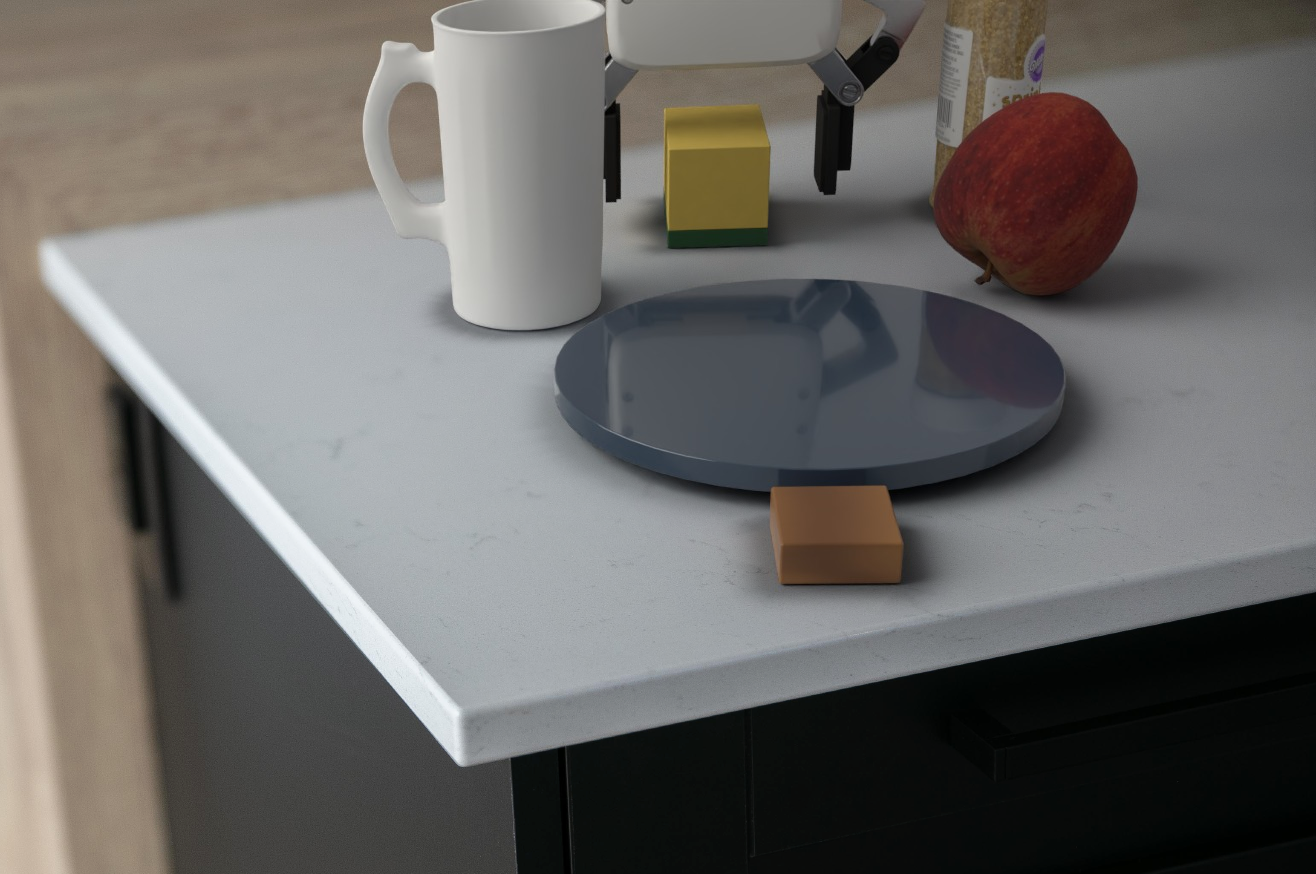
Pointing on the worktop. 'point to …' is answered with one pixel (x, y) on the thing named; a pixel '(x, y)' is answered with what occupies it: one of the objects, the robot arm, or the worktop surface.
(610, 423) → the plate
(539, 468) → the worktop surface
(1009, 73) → the sprinkles bottle
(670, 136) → the sponge
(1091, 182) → the apple
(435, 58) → the mug
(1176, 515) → the worktop surface
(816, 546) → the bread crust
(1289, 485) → the worktop surface
